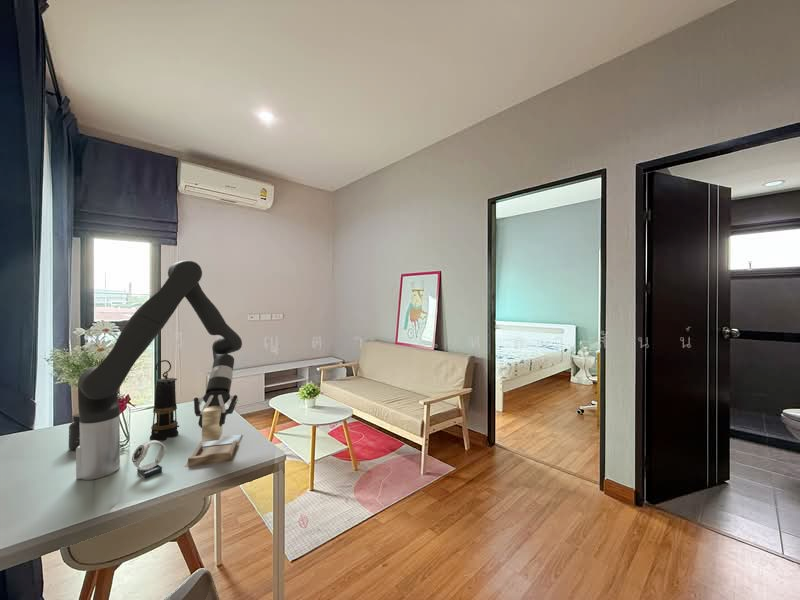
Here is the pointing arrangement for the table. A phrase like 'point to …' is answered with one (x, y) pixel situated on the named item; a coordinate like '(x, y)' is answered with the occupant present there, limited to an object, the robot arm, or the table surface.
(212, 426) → the birch block
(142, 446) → the watch
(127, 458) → the table surface
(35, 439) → the table surface
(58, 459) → the table surface
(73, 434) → the supplement bottle
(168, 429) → the lantern
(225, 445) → the brown wooden flat tray
